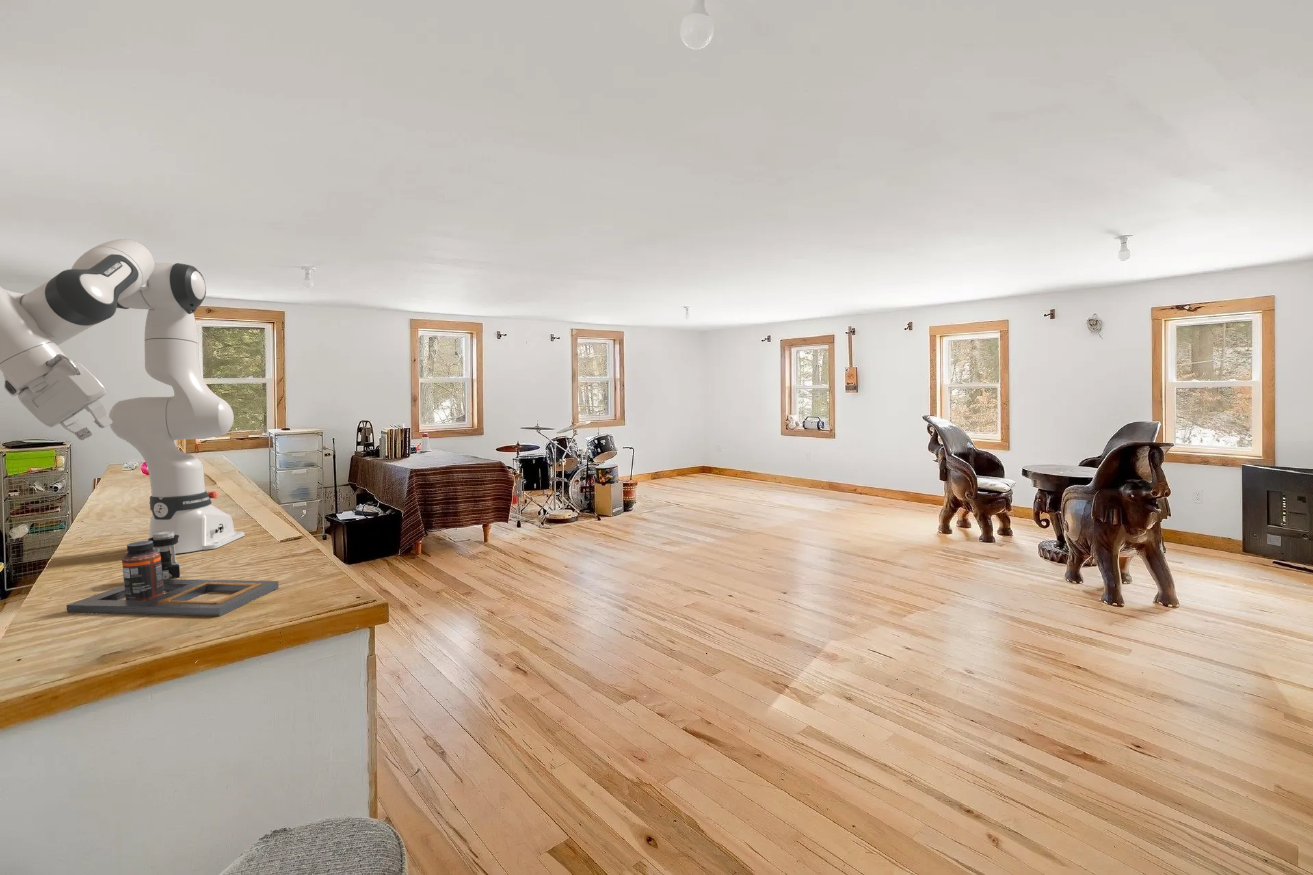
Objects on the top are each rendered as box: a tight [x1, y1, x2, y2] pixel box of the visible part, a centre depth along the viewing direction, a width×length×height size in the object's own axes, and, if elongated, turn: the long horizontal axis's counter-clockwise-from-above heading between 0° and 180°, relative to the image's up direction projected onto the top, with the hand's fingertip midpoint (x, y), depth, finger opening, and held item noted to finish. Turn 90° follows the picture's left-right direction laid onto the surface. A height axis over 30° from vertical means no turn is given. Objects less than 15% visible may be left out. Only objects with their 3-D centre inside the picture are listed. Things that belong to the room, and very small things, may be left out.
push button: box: [147, 531, 181, 579], centre depth 139 cm, size 7×5×10 cm
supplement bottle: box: [121, 540, 165, 601], centre depth 125 cm, size 6×6×11 cm
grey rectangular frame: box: [66, 578, 280, 617], centre depth 125 cm, size 16×30×2 cm, turn 85°
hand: (97, 432), depth 121 cm, fingers open, 8 cm apart
